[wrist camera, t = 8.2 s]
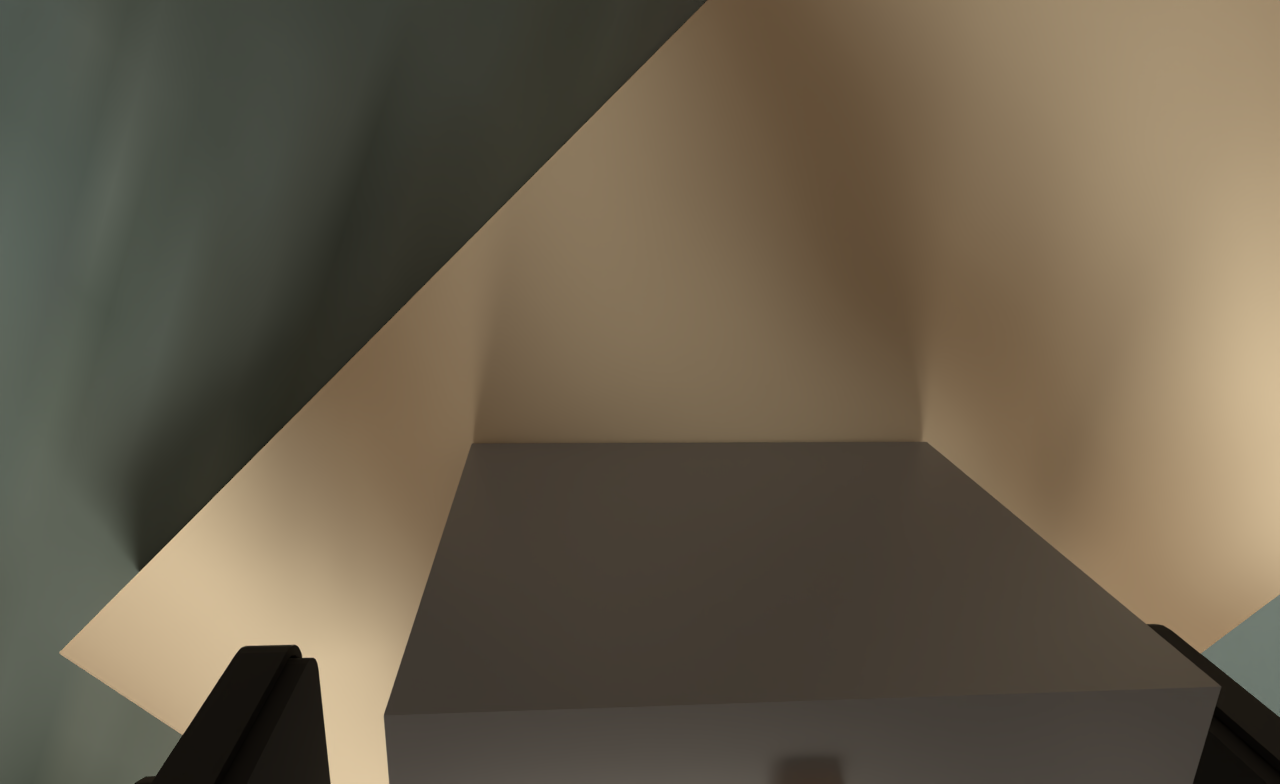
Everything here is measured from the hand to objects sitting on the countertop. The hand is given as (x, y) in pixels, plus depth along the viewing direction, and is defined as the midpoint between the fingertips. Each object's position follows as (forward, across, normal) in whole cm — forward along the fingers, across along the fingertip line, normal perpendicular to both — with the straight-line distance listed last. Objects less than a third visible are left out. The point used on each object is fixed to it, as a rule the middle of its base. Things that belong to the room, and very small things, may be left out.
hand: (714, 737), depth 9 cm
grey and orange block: (+2, 0, 0) cm, 2 cm away
